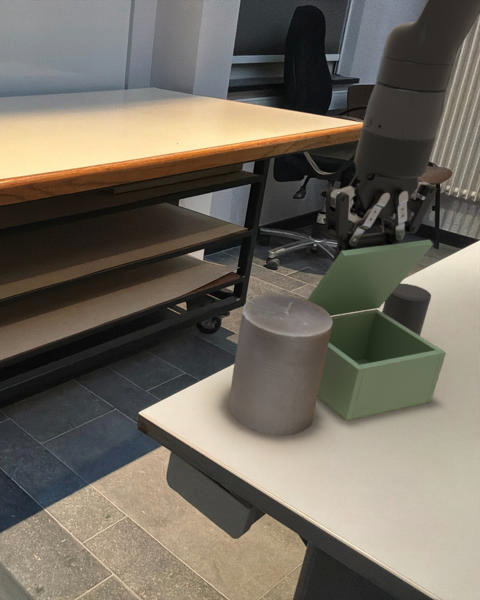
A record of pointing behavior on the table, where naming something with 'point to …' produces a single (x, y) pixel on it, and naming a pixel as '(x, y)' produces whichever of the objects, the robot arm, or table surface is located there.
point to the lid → (366, 274)
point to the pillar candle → (279, 364)
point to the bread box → (377, 366)
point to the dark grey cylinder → (408, 306)
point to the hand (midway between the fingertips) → (361, 267)
